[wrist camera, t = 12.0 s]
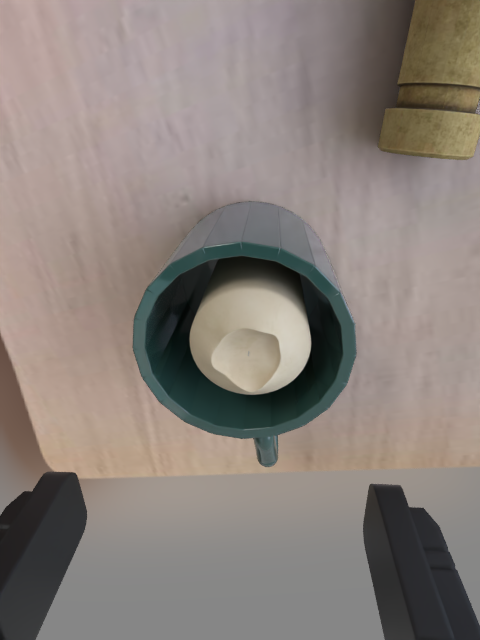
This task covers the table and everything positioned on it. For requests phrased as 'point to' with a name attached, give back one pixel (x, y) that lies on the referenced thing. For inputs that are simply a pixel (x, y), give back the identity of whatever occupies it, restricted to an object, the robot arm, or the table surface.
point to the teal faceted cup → (182, 305)
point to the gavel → (437, 84)
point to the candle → (251, 326)
